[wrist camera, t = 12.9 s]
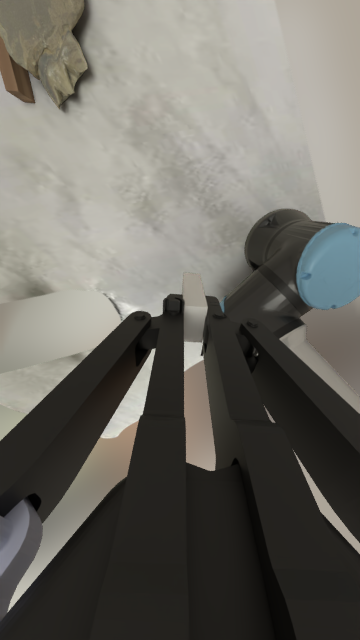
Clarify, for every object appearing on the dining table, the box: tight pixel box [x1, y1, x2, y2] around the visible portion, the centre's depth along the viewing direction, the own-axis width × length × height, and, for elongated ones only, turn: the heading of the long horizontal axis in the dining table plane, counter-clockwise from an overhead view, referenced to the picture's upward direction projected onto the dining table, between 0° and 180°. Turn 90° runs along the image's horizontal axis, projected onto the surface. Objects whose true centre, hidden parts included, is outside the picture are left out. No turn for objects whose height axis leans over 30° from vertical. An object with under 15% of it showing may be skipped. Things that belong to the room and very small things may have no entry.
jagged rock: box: [0, 0, 88, 109], centre depth 27 cm, size 14×10×10 cm
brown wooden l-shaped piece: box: [0, 36, 35, 103], centre depth 27 cm, size 18×19×4 cm
